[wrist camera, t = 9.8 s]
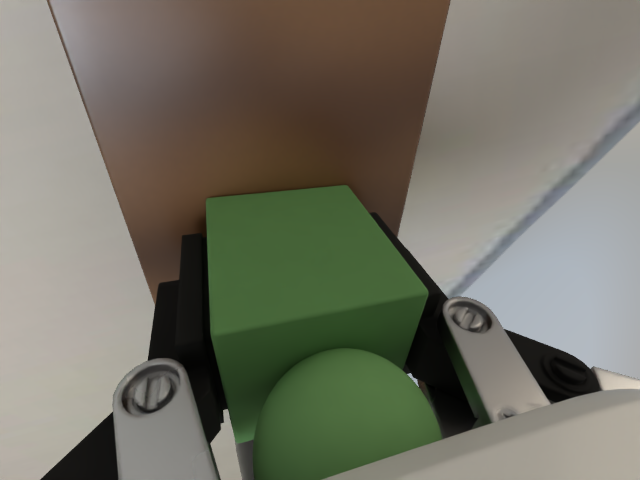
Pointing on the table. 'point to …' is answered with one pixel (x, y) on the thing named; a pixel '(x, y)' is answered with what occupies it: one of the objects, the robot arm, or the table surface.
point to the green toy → (314, 332)
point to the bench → (249, 103)
